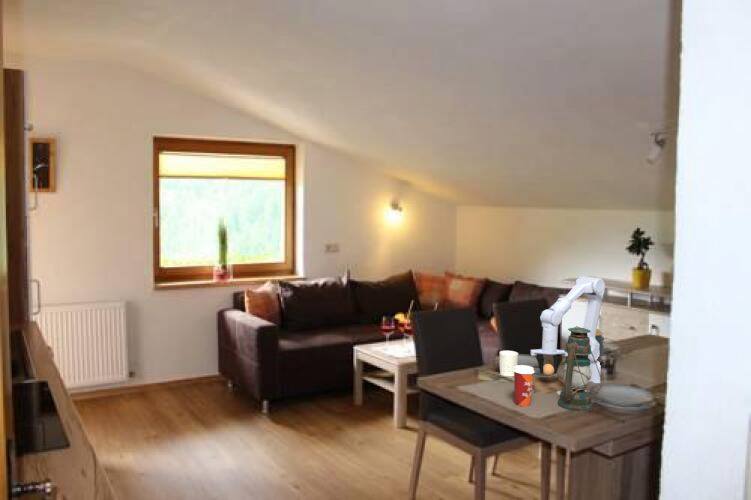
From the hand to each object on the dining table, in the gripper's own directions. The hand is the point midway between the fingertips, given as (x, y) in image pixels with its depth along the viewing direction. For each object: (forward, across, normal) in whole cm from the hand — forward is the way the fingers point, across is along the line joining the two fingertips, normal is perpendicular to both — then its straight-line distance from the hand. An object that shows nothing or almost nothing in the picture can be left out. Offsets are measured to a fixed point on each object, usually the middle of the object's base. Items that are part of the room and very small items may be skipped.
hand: (548, 373), depth 267 cm
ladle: (+6, -8, +7) cm, 12 cm away
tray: (+6, 0, 0) cm, 6 cm away
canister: (+6, -31, -40) cm, 51 cm away
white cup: (+7, +12, -17) cm, 22 cm away
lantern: (+7, -5, +21) cm, 23 cm away
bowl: (+6, -1, -13) cm, 15 cm away
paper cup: (+7, +15, +19) cm, 25 cm away
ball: (+1, 0, 0) cm, 1 cm away
